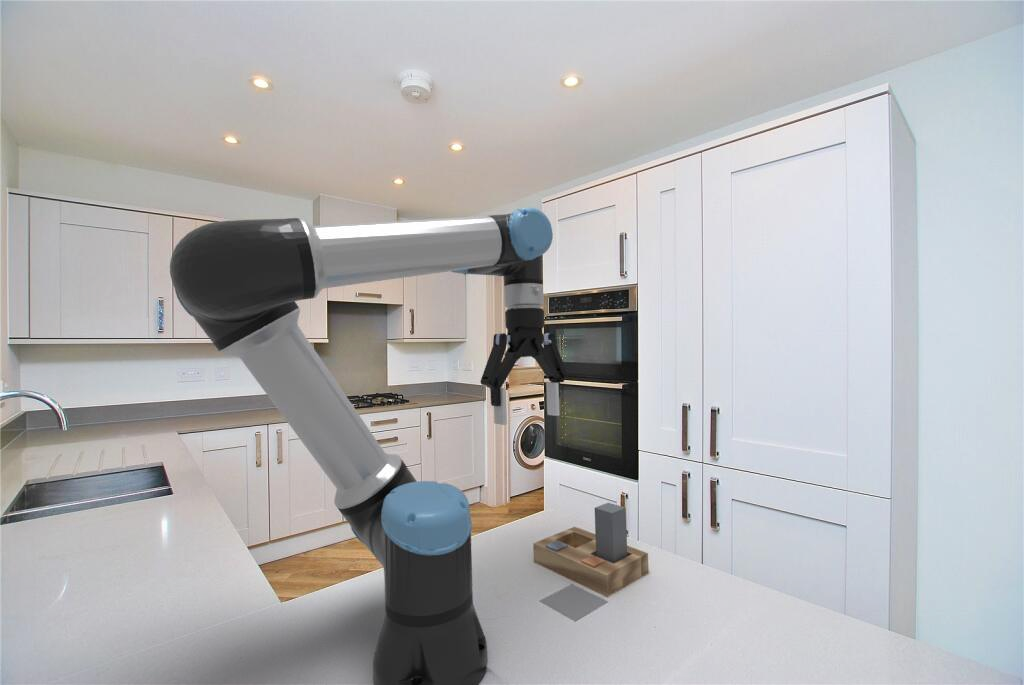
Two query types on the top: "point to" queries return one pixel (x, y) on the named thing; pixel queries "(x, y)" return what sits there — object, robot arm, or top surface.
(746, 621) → the top surface
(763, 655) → the top surface
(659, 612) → the top surface
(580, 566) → the socket board
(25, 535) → the top surface
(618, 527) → the plug
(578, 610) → the mat
